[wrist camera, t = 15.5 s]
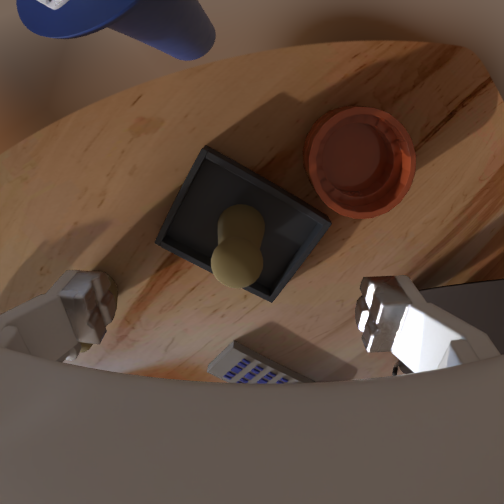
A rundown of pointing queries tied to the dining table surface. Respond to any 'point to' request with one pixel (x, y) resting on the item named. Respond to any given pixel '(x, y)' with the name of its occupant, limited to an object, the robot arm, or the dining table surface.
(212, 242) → the tray
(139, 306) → the dining table surface
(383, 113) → the bowl
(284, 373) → the remote control
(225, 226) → the olive green bottle
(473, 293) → the laptop tray
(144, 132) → the dining table surface
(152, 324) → the dining table surface
